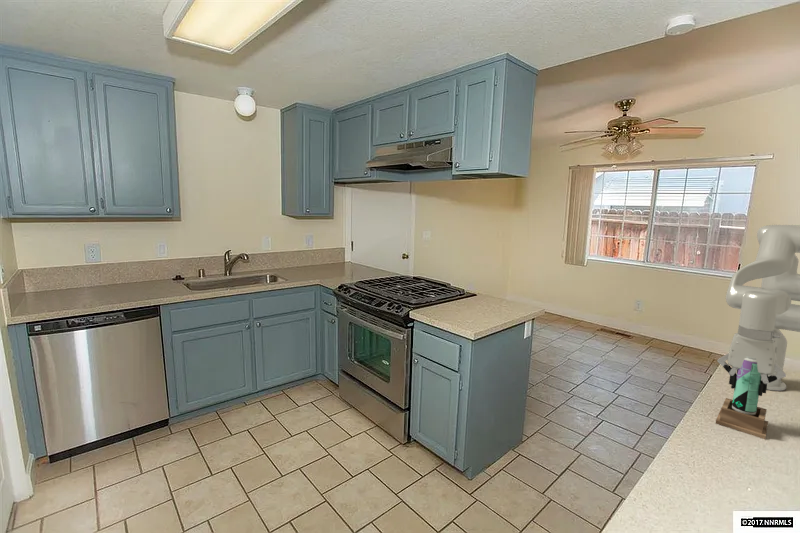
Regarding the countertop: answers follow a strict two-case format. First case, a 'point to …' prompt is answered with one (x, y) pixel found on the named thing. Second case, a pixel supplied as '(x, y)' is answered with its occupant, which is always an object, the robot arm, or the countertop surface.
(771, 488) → the countertop surface
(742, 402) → the spray can
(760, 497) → the countertop surface
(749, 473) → the countertop surface
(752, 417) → the can holder
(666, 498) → the countertop surface
